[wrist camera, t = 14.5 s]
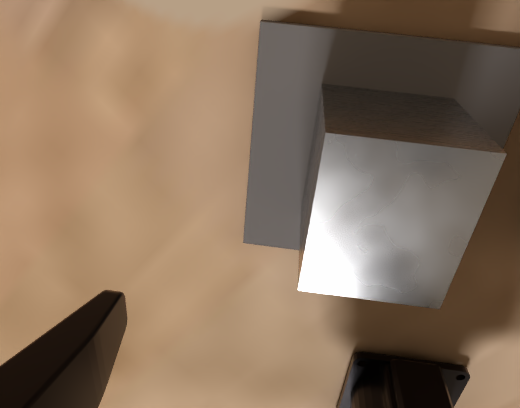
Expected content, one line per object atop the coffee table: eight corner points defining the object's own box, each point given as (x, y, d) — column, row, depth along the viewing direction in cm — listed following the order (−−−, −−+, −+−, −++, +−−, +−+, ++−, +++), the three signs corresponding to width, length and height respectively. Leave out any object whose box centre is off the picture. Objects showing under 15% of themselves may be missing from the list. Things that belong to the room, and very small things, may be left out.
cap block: (410, 228, 19) (439, 309, 15) (300, 214, 19) (297, 290, 15) (454, 98, 16) (507, 153, 12) (321, 83, 16) (325, 132, 12)
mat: (449, 264, 20) (451, 269, 20) (244, 238, 21) (243, 242, 20) (539, 48, 15) (544, 51, 15) (261, 19, 15) (260, 21, 15)
